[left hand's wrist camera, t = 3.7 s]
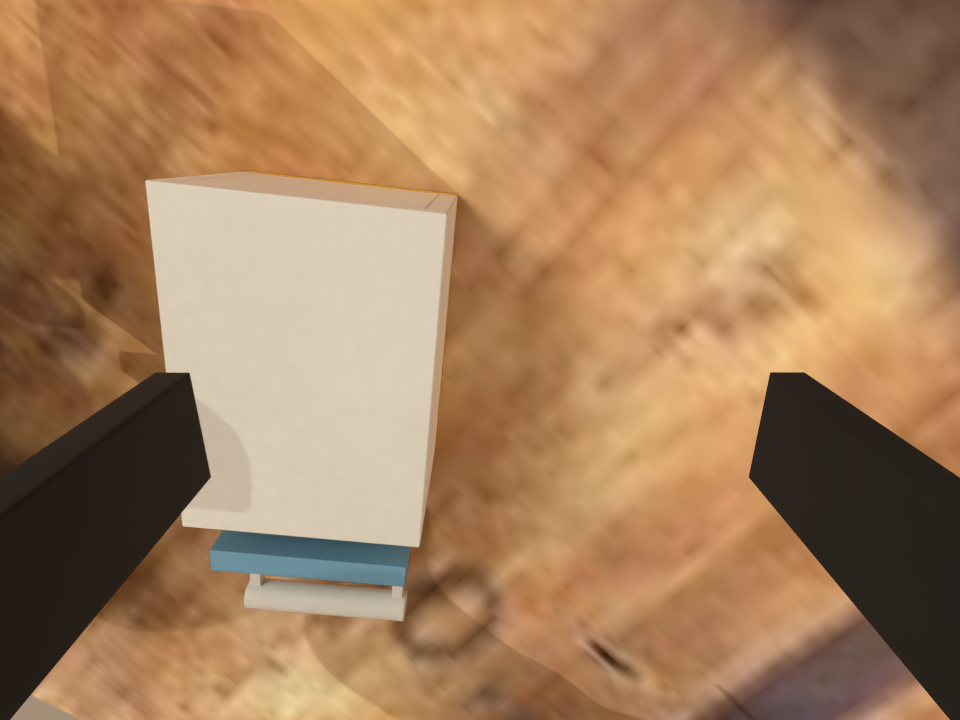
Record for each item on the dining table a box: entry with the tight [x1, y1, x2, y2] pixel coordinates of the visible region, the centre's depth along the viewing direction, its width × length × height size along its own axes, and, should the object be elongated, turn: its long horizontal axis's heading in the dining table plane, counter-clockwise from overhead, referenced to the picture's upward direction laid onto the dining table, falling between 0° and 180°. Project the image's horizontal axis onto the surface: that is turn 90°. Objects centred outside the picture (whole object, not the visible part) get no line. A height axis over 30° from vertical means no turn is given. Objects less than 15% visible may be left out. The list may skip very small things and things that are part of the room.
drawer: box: [210, 530, 412, 621], centre depth 28 cm, size 19×9×7 cm, turn 174°
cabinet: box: [145, 171, 458, 547], centre depth 25 cm, size 14×10×9 cm
